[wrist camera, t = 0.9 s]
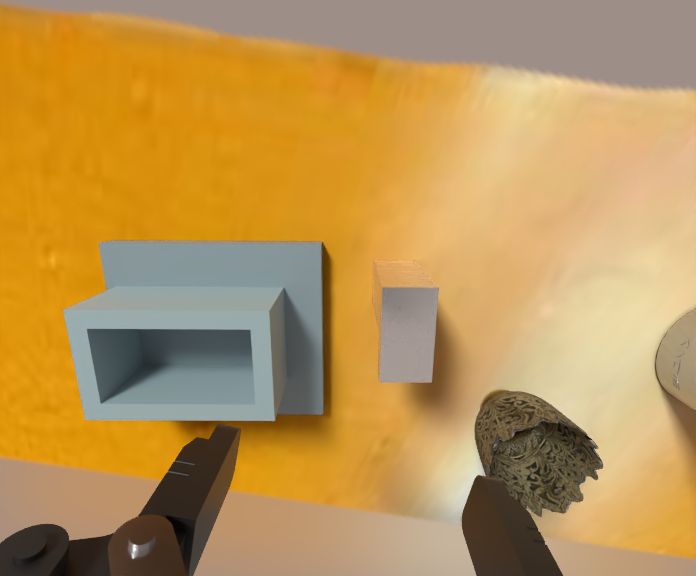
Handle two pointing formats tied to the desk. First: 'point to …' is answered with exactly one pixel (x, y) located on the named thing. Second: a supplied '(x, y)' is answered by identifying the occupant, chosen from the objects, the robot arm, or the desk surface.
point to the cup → (534, 450)
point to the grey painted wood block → (404, 320)
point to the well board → (202, 332)
